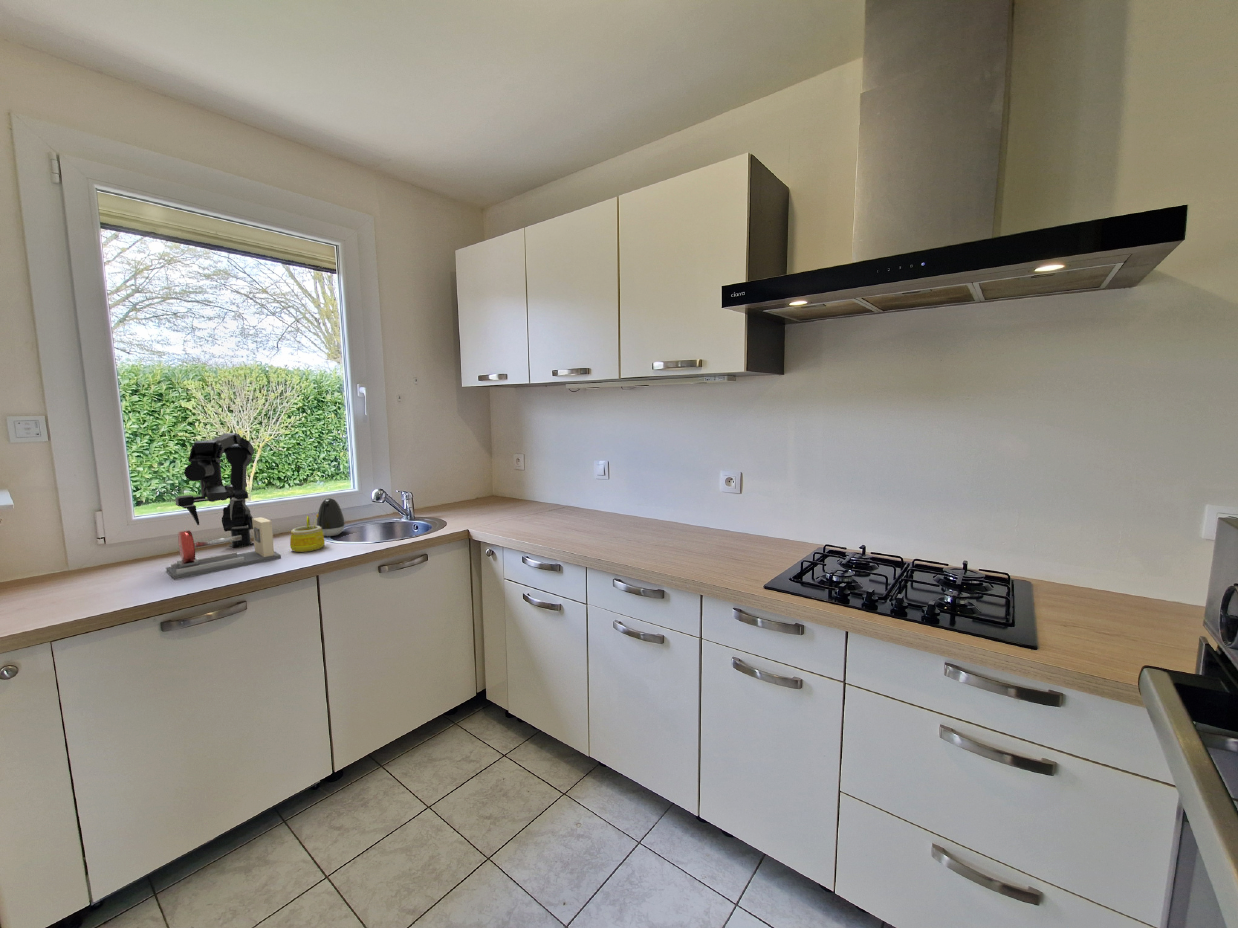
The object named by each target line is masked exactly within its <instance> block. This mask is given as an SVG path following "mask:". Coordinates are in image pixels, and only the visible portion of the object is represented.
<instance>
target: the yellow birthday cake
mask: <svg viewBox="0 0 1238 928" xmlns="http://www.w3.org/2000/svg"><path fill="white" fill-rule="evenodd" d="M315 516H316V517H315V521H314V524H313V525H311V522H310V521H311V520H310V516H306V525H304V526H303V525H302V526H299V527H294V528H293V529H291V531H290V539H289V540H290V541H289V545H290V546H289V547H290V550H291V551H292V552H295V553H307V552H313V551H316V550H320V549H321V548H323V547H324V546H325V536H323V531H322V528H321V527H320V526H316V523H317V517H318V516H319V515H318V513H317V514H316V515H315Z"/></svg>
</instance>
